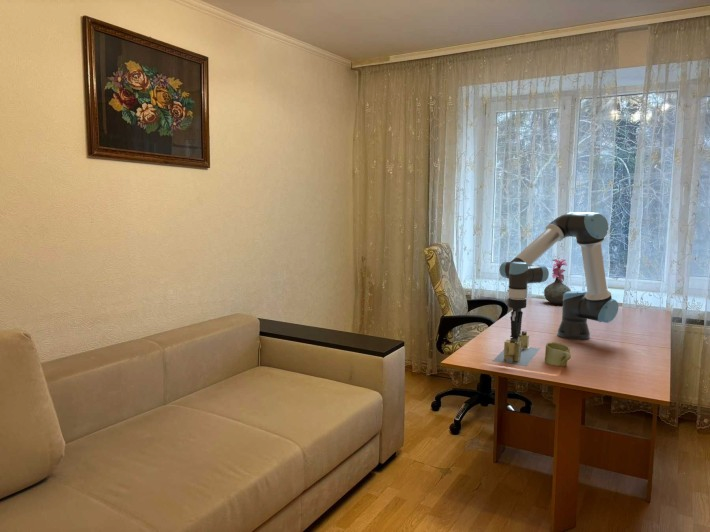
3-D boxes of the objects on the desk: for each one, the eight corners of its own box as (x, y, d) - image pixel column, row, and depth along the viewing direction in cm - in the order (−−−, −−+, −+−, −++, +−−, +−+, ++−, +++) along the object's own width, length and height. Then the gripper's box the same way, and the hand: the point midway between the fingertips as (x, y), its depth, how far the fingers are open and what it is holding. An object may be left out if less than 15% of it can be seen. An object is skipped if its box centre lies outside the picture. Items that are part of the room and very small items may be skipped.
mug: (536, 356, 225) (546, 336, 222) (557, 362, 226) (567, 343, 223) (546, 370, 213) (557, 349, 210) (569, 377, 215) (580, 356, 212)
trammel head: (520, 359, 224) (521, 338, 222) (518, 361, 220) (519, 340, 219) (506, 356, 226) (507, 336, 225) (503, 359, 223) (504, 338, 221)
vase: (546, 305, 344) (548, 260, 340) (541, 301, 361) (543, 257, 357) (573, 306, 341) (575, 261, 337) (567, 301, 358) (569, 258, 354)
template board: (540, 349, 242) (540, 347, 242) (526, 367, 215) (526, 365, 215) (509, 345, 249) (509, 343, 248) (492, 362, 222) (492, 360, 222)
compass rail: (528, 347, 243) (529, 331, 242) (514, 364, 218) (514, 346, 217) (519, 346, 245) (520, 330, 244) (504, 362, 220) (505, 345, 219)
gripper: (512, 295, 232) (509, 346, 235) (504, 299, 221) (502, 354, 224) (529, 296, 228) (527, 349, 231) (523, 301, 217) (520, 356, 220)
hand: (515, 351), depth 227 cm, fingers closed
